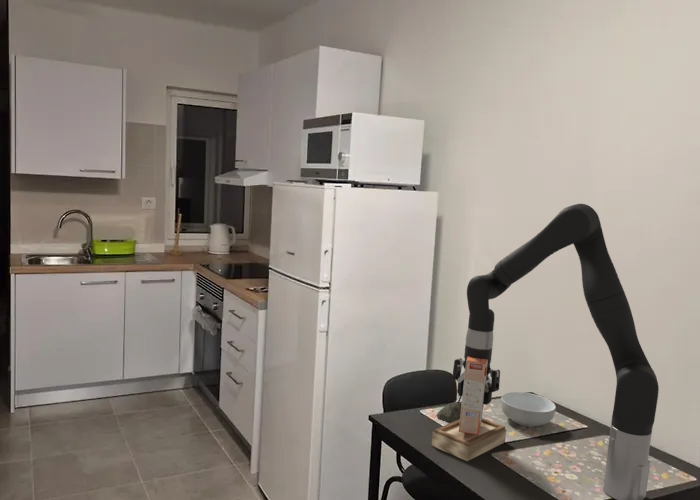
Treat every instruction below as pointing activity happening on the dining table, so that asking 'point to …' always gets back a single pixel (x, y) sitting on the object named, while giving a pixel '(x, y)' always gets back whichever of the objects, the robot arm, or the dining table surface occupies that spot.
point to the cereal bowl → (527, 408)
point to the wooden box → (468, 439)
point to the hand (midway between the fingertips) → (473, 399)
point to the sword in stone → (450, 412)
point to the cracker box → (473, 395)
